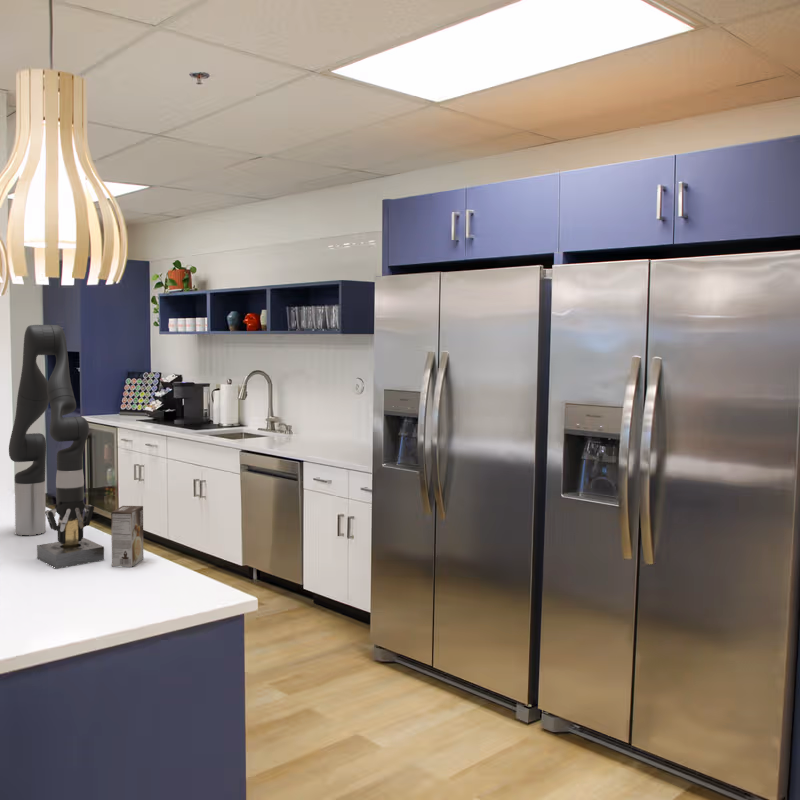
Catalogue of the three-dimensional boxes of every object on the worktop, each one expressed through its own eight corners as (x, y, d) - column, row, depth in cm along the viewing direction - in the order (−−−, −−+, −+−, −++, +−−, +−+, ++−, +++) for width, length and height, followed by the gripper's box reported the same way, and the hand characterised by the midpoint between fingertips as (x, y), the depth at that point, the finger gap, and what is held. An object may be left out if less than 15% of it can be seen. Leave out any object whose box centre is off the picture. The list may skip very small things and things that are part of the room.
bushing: (60, 552, 235) (59, 518, 235) (75, 550, 239) (74, 516, 238) (66, 555, 232) (65, 521, 232) (81, 553, 235) (80, 519, 235)
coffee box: (122, 558, 238) (122, 505, 237) (144, 558, 238) (143, 505, 237) (111, 566, 229) (110, 511, 228) (133, 567, 229) (132, 512, 228)
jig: (37, 558, 236) (37, 545, 235) (84, 550, 245) (84, 537, 245) (56, 568, 226) (55, 554, 225) (104, 560, 235) (104, 546, 235)
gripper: (88, 480, 242) (88, 536, 243) (40, 485, 232) (40, 543, 233) (99, 483, 236) (99, 540, 238) (50, 489, 226) (50, 548, 228)
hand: (70, 541), depth 235 cm, fingers closed on bushing, 4 cm apart
